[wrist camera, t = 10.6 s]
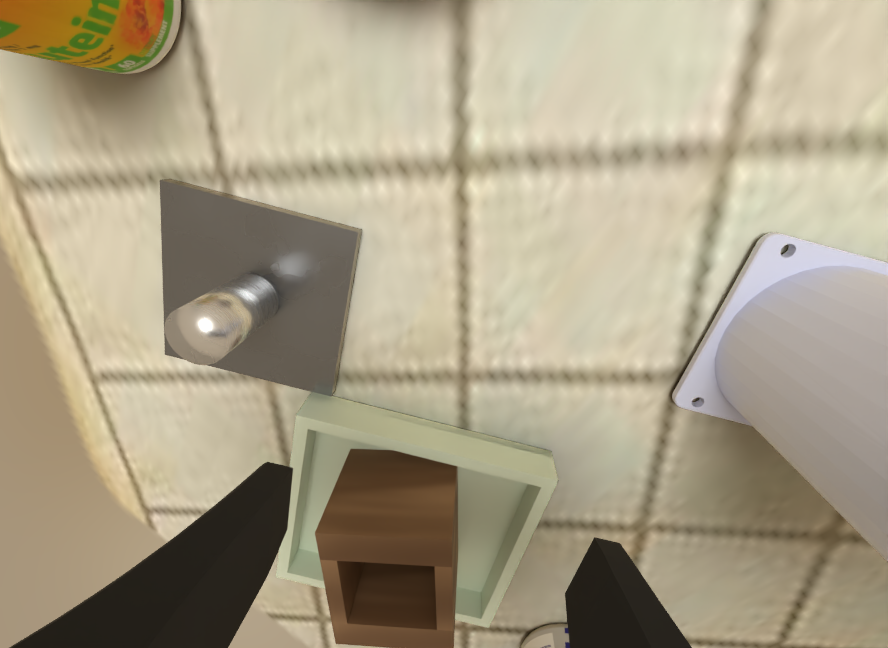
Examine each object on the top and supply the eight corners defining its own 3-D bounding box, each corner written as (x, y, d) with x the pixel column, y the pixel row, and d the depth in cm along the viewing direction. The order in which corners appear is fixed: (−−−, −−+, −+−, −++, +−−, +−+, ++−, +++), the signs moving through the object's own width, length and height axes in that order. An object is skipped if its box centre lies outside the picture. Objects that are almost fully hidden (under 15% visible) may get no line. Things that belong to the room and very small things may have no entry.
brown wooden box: (350, 448, 21) (314, 532, 16) (457, 452, 20) (451, 540, 16) (363, 547, 24) (335, 643, 19) (458, 552, 23) (453, 651, 19)
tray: (551, 451, 21) (558, 480, 19) (487, 592, 25) (488, 628, 23) (312, 390, 20) (296, 414, 18) (290, 545, 25) (275, 577, 23)
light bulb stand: (362, 229, 17) (323, 256, 13) (335, 389, 20) (297, 453, 16) (170, 178, 17) (67, 188, 13) (173, 348, 20) (92, 402, 16)
